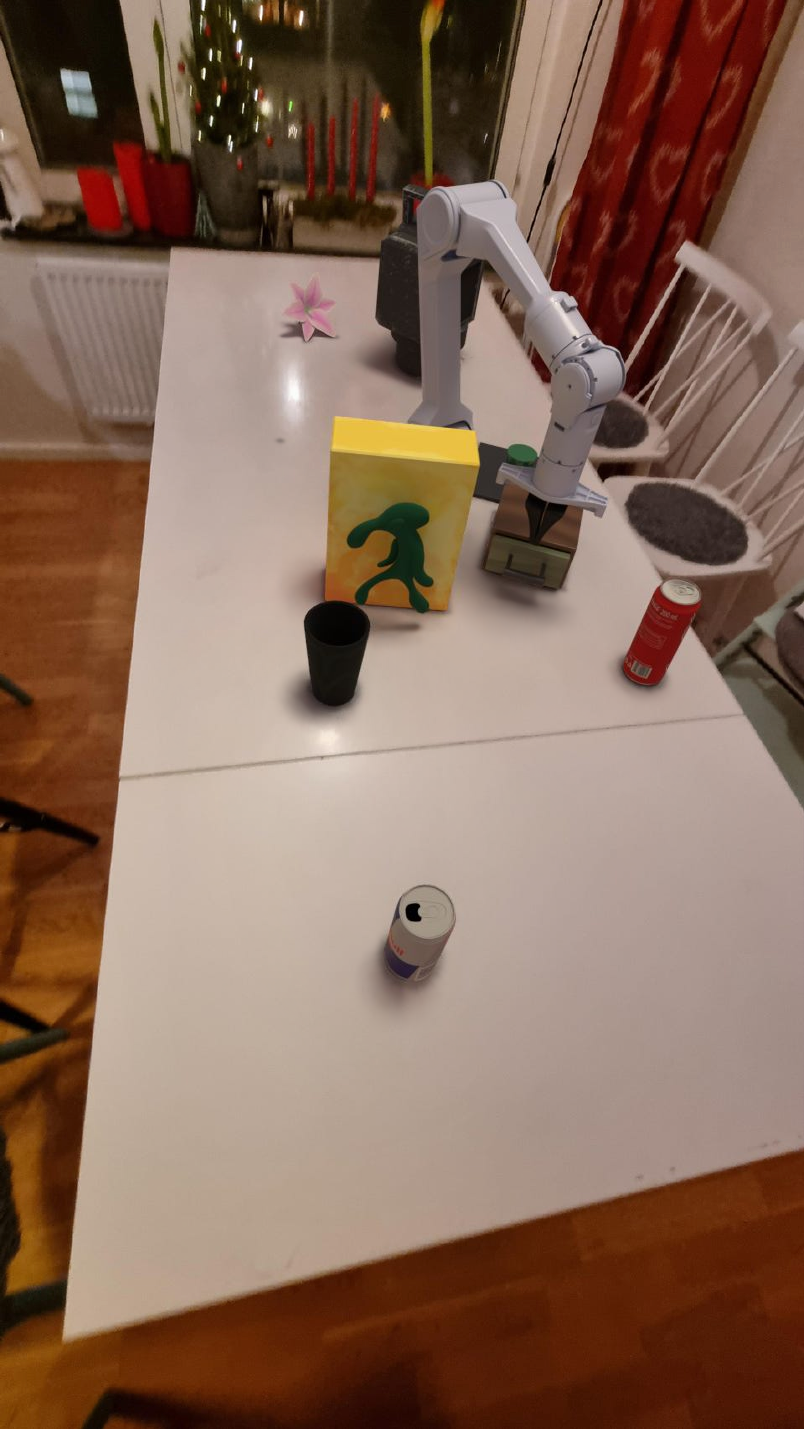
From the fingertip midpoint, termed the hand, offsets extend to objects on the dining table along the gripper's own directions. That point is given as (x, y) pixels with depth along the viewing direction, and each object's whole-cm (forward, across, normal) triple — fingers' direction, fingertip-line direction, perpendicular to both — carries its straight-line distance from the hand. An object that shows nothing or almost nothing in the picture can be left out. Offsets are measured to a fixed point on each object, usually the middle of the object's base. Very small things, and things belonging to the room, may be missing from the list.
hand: (534, 541), depth 96 cm
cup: (+10, +16, +29) cm, 35 cm away
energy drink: (+10, -5, +57) cm, 58 cm away
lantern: (+10, +38, -56) cm, 68 cm away
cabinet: (+10, +1, -11) cm, 15 cm away
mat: (+10, +9, -28) cm, 31 cm away
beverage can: (+10, -20, +6) cm, 23 cm away
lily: (+10, +63, -55) cm, 84 cm away
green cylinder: (+9, +9, -28) cm, 31 cm away
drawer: (+9, +1, -7) cm, 11 cm away
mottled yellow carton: (+10, +17, +11) cm, 23 cm away
